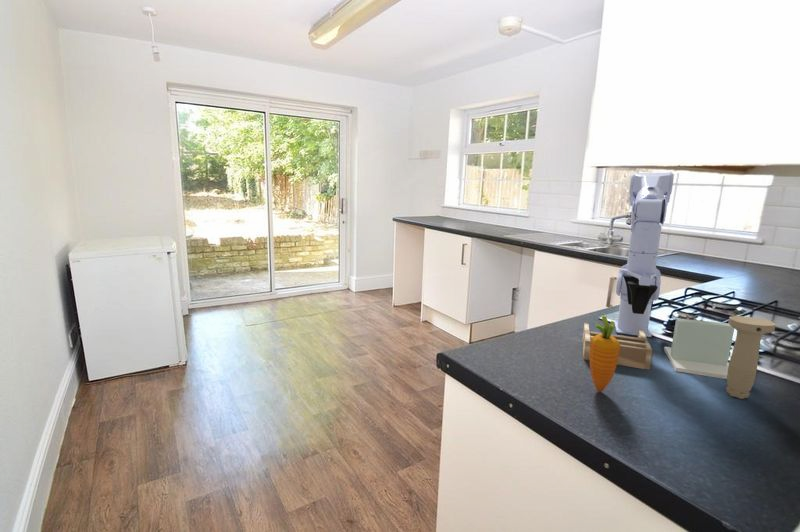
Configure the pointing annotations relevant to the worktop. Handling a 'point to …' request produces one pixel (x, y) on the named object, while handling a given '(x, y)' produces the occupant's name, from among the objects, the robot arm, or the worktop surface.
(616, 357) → the carrot
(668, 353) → the tile
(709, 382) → the worktop surface
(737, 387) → the handle
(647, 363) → the rack
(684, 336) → the sheet
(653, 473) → the worktop surface
